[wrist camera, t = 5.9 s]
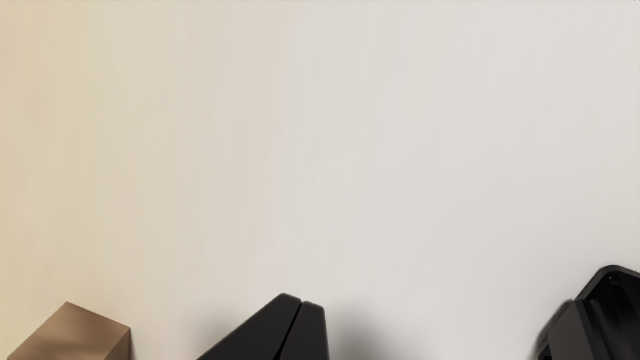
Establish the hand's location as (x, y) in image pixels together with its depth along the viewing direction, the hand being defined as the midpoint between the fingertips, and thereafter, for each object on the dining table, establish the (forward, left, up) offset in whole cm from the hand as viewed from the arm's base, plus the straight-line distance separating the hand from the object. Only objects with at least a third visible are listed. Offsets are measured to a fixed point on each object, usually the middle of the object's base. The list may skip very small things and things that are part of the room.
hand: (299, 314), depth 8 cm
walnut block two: (+14, +24, -12) cm, 30 cm away
